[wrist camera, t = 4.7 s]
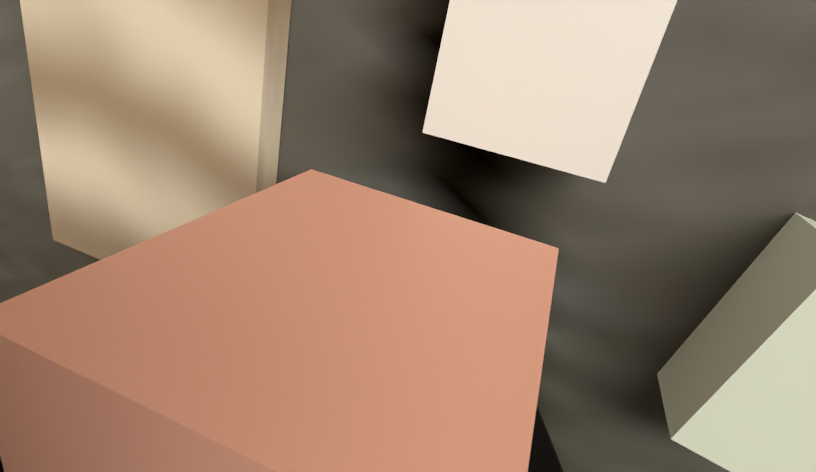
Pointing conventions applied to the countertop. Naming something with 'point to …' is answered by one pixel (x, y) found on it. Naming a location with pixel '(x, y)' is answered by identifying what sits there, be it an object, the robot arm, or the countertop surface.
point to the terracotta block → (285, 344)
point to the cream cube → (545, 77)
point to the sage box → (753, 365)
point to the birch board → (153, 111)
